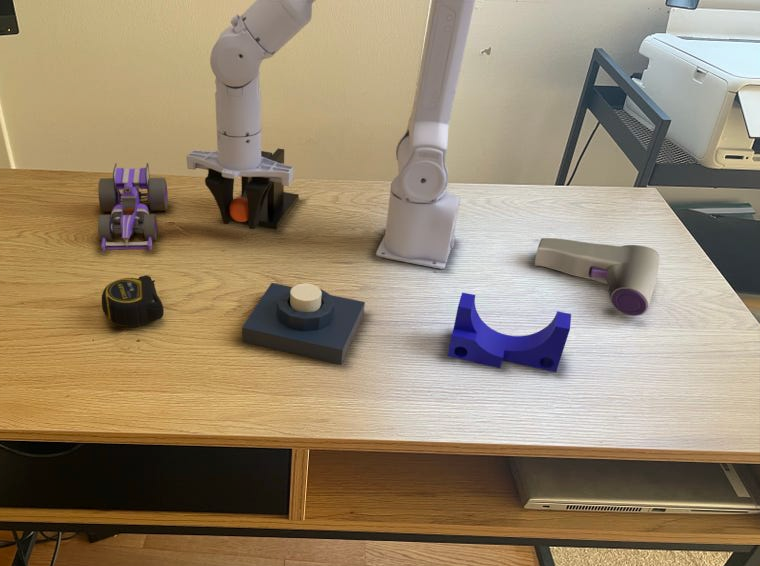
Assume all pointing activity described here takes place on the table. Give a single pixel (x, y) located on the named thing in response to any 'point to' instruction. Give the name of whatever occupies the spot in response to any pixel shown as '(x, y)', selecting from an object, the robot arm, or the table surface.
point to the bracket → (274, 199)
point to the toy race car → (130, 207)
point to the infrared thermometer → (607, 269)
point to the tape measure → (132, 301)
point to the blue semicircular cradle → (506, 340)
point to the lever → (243, 201)
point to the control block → (304, 325)
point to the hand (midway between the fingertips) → (241, 223)
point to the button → (305, 297)
